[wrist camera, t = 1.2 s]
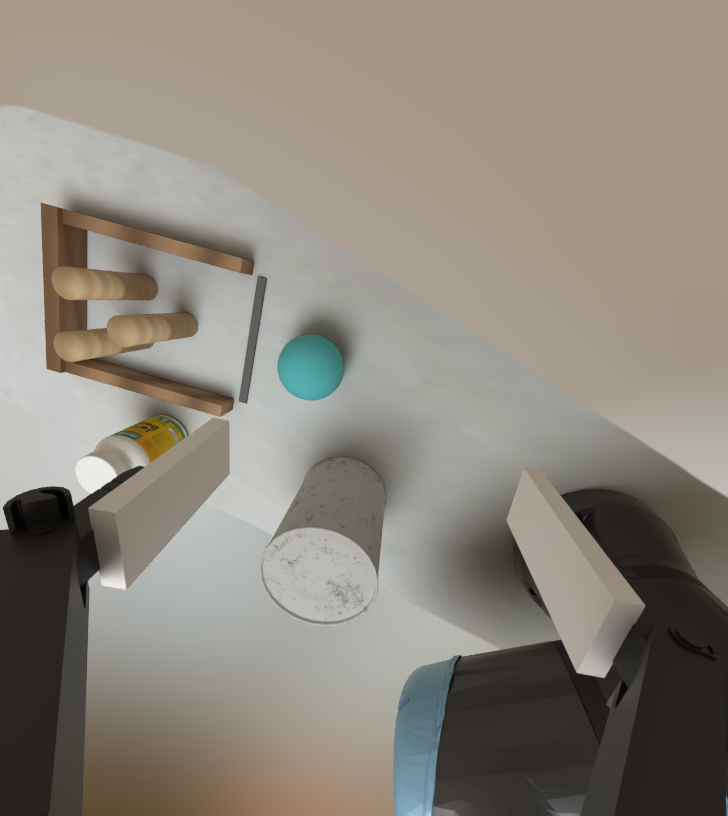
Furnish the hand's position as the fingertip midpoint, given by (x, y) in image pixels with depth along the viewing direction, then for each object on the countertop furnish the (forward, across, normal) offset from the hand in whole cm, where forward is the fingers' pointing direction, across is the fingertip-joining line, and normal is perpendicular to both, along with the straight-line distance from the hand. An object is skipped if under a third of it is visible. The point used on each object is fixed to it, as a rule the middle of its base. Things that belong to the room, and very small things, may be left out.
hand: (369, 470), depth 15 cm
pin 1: (+21, +25, -4) cm, 32 cm away
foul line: (+20, +14, 0) cm, 24 cm away
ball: (+17, +7, 0) cm, 18 cm away
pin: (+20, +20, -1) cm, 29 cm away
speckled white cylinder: (+20, +2, +15) cm, 25 cm away
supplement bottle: (+20, +23, +12) cm, 33 cm away
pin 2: (+20, +25, +1) cm, 33 cm away
